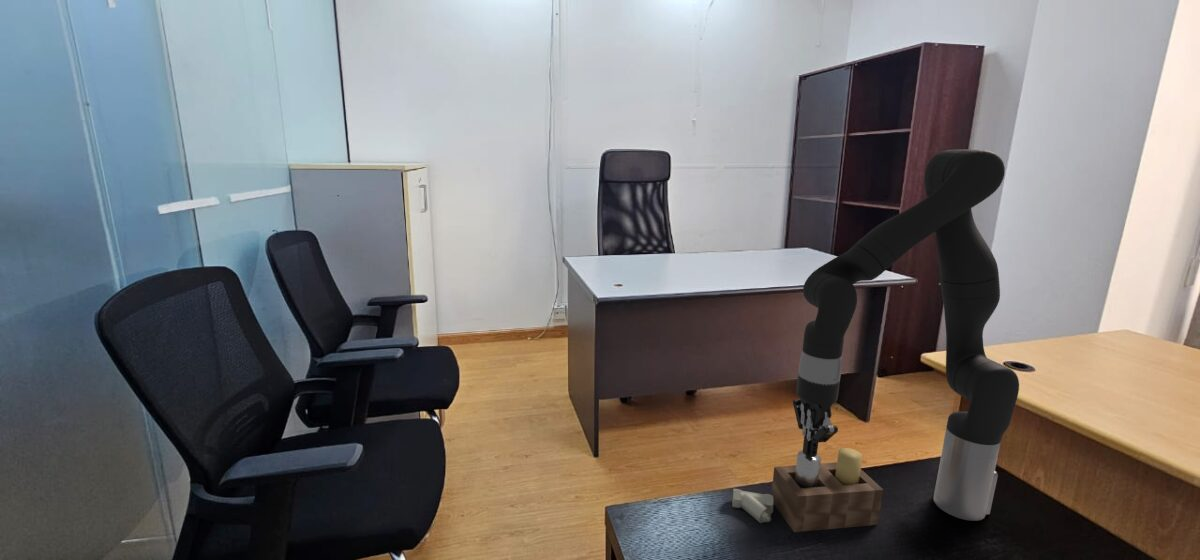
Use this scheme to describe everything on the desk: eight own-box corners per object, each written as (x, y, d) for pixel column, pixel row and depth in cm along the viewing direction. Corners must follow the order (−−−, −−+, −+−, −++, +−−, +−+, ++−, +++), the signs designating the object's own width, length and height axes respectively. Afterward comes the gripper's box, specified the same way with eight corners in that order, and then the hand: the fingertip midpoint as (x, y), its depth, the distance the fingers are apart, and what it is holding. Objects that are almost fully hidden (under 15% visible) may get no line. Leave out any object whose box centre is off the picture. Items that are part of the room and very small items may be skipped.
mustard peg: (849, 479, 110) (853, 447, 108) (862, 492, 106) (867, 459, 104) (829, 480, 109) (834, 448, 108) (842, 493, 105) (846, 460, 104)
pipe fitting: (773, 529, 104) (771, 506, 110) (774, 513, 103) (772, 490, 109) (731, 522, 106) (732, 499, 112) (733, 506, 105) (733, 484, 111)
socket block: (847, 493, 114) (852, 461, 113) (877, 524, 105) (883, 489, 103) (770, 499, 112) (774, 466, 110) (794, 532, 102) (798, 496, 100)
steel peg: (809, 482, 109) (813, 449, 107) (821, 495, 105) (825, 461, 103) (789, 483, 108) (793, 451, 106) (800, 496, 104) (804, 463, 102)
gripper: (858, 388, 95) (846, 473, 99) (818, 361, 108) (809, 437, 111) (819, 390, 94) (809, 475, 98) (784, 362, 107) (776, 439, 110)
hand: (809, 454), depth 105 cm, fingers closed
